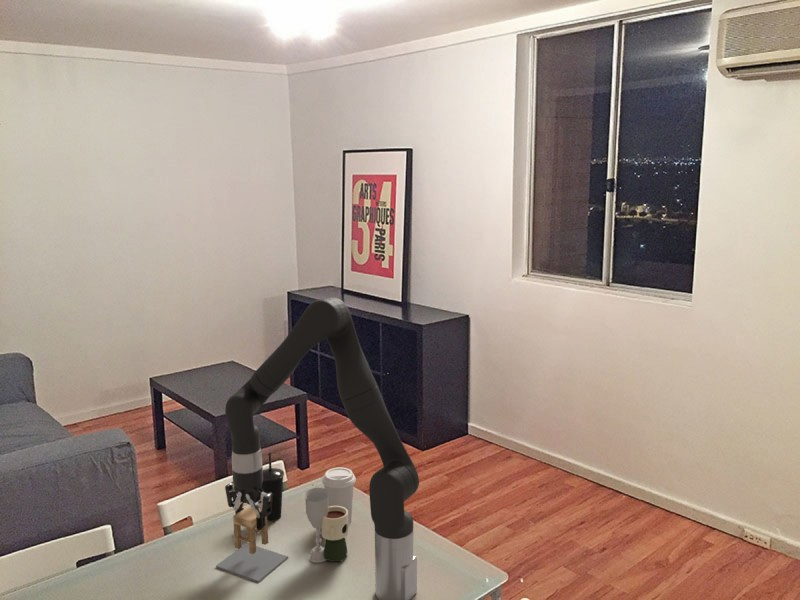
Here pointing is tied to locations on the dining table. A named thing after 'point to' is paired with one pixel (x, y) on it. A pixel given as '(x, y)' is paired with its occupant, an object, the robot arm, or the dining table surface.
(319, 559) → the chalice
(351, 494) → the coffee cup
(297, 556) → the dining table surface
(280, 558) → the mat
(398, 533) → the robot arm
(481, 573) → the dining table surface
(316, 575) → the dining table surface
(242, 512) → the light wood stool
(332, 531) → the character mug
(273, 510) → the drinking cup
